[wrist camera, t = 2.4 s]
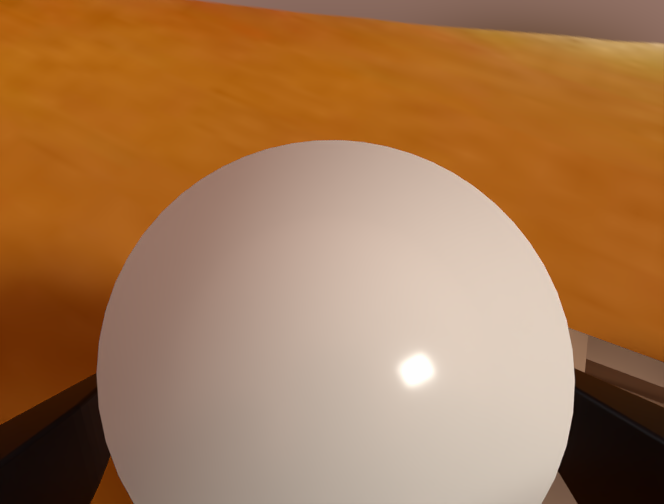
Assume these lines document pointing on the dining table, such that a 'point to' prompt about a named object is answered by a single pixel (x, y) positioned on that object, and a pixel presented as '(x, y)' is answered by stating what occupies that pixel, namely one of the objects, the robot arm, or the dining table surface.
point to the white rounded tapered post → (335, 340)
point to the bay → (617, 369)
